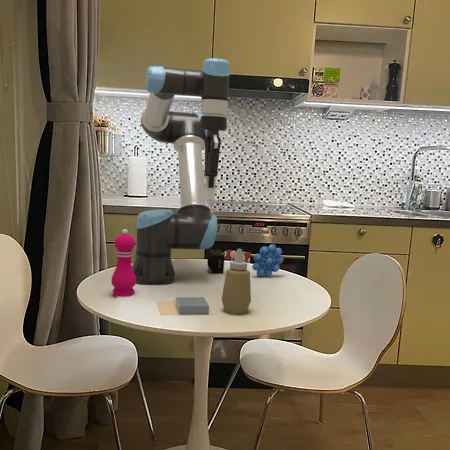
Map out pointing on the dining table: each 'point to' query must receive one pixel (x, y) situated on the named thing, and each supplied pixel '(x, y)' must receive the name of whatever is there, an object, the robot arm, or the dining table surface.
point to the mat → (174, 308)
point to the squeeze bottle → (237, 286)
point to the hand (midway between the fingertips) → (209, 198)
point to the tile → (192, 305)
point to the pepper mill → (124, 266)
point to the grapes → (267, 260)
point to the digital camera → (216, 261)
